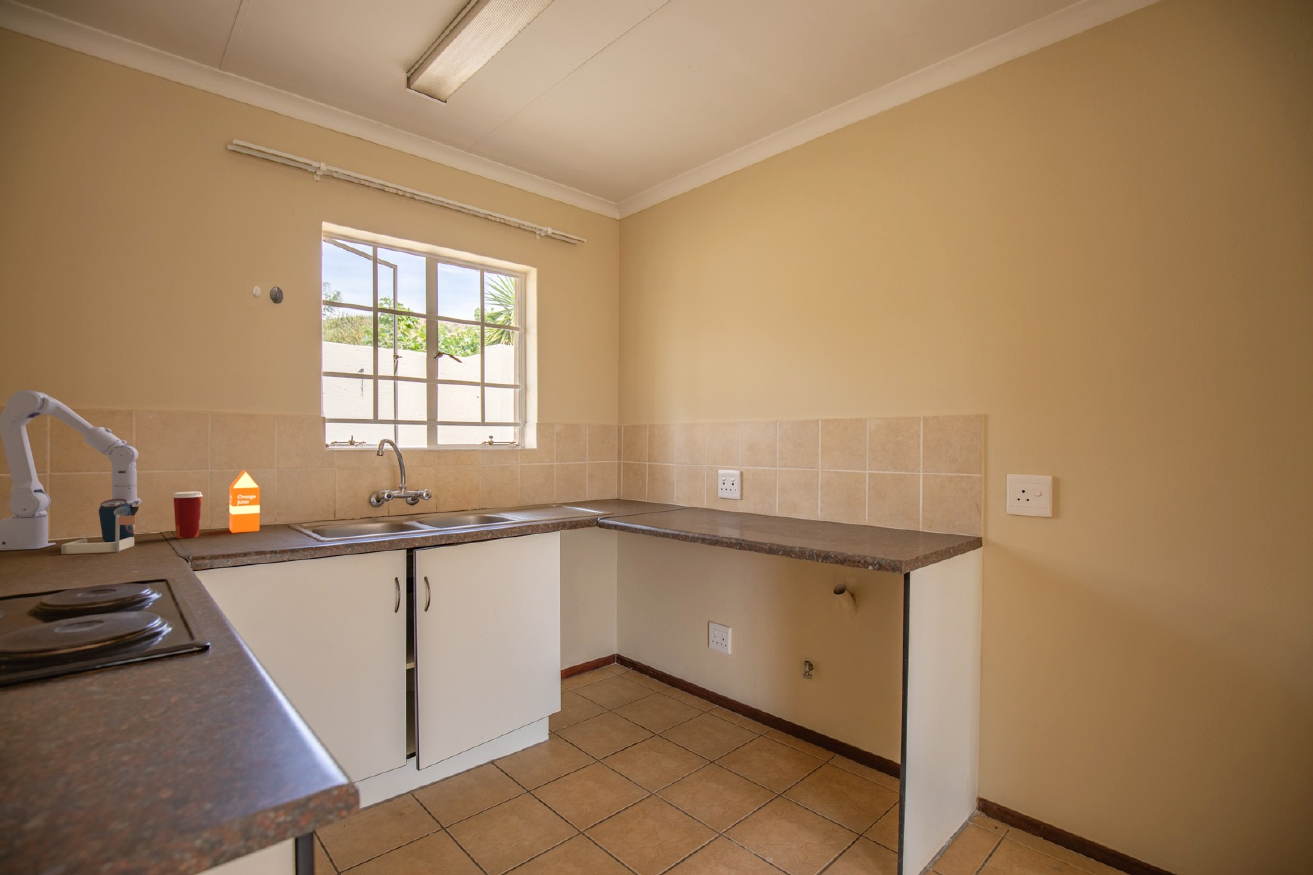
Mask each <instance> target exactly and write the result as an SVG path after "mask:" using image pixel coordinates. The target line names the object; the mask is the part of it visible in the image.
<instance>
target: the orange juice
mask: <svg viewBox="0 0 1313 875" xmlns="http://www.w3.org/2000/svg"><path fill="white" fill-rule="evenodd" d="M260 508H261V507H260V486H259V485H258V484H257V483H256V482H255V481H254V479H253V478H252V477H251V476H250V475H249V473H248V472H247V471H246V470H242V471H241V472H240V473H239V474H238V476H237V477H236V478H235V479H234V480H233V482H232V483H231V484H230V485H229V531H230V532H231V533H232V534H233V533H235V534H236V533H246V532H259V531H260V514H261V513H260V510H261V509H260Z"/></svg>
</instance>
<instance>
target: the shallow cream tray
mask: <svg viewBox="0 0 1313 875" xmlns="http://www.w3.org/2000/svg"><path fill="white" fill-rule="evenodd" d="M132 524H133V525H136V515H135V516H119V515H116V531H115V542H108V543H106V542H88V538H82V539H79V540H74V541H70V542H66V543H63V544H61V547H60V548H61V550H60V552H61V553H60V554H61V555H70V554H72V555H73V554H93V553H95V554H99V553H101V554H102V553H120V551H123V550H126V549H129V548H132V547H135V537H134V536H133V537H129V538H126V539H123V540H119V525H132Z"/></svg>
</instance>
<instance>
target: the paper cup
mask: <svg viewBox="0 0 1313 875" xmlns="http://www.w3.org/2000/svg"><path fill="white" fill-rule="evenodd" d="M203 496H204V495H202V491H179V492H174V493H173V496H172V498H173V510H174V513H173V514H174V524H175V537H176V539H183V540H184V539H192V538H198V537H199V535H200V525H201V510H202V497H203Z"/></svg>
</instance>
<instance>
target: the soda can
mask: <svg viewBox="0 0 1313 875" xmlns="http://www.w3.org/2000/svg"><path fill="white" fill-rule="evenodd" d="M119 502H120V503H119ZM108 503H117V505H116V506H111V505H114V504H110V505H108ZM118 503H119V504H118ZM116 515H119V516H131V509H130V505H129V504H128V503H127V501H126V500H124V499H112V498H111V499H108V500H105V501H102V502H101V503H100V506H99V509H98V516H99V522H100V528H101V537H102V541H103V542H104V543H108V542H115V531H116ZM134 535H135V533H134V524H132V525H119V540H123V539H126V538H129V537H134Z"/></svg>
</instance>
